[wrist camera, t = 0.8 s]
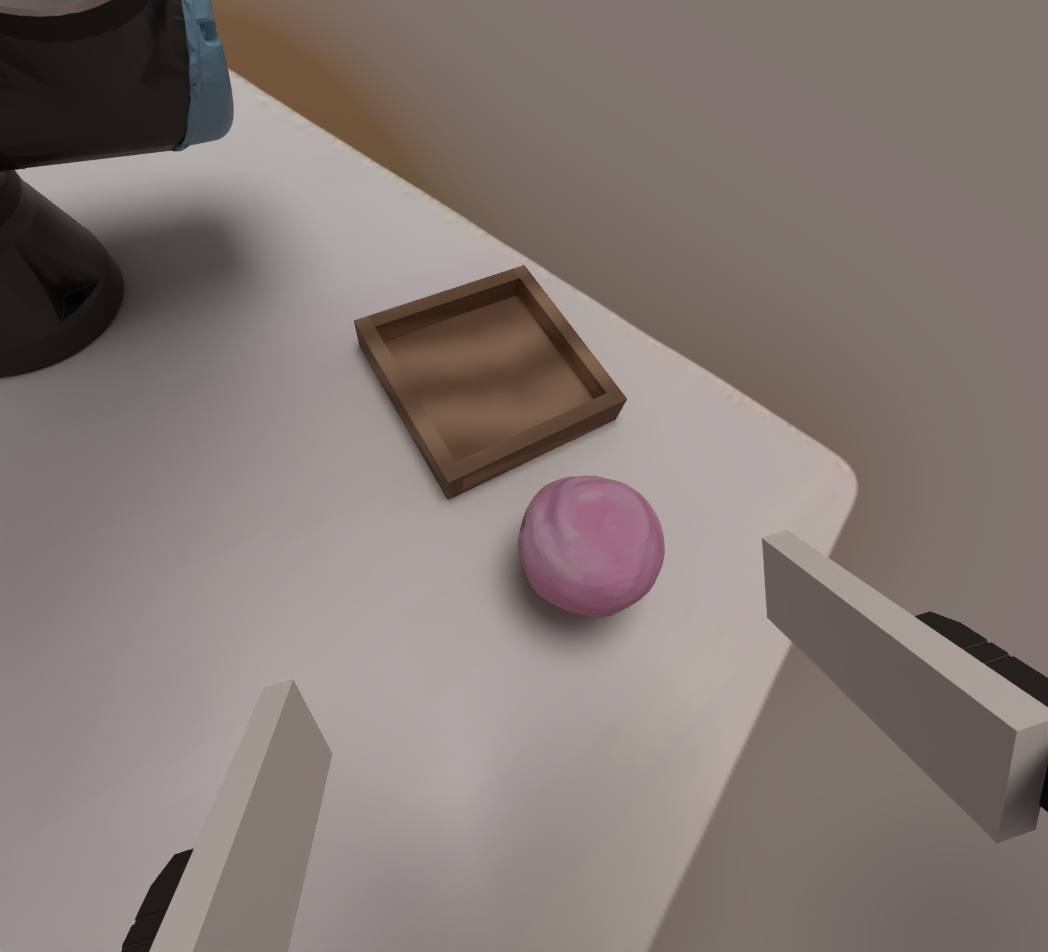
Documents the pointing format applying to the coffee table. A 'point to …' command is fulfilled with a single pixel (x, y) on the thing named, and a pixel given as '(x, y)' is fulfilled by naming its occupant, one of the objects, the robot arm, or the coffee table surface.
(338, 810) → the coffee table surface
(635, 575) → the cupcake
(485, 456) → the serving tray
